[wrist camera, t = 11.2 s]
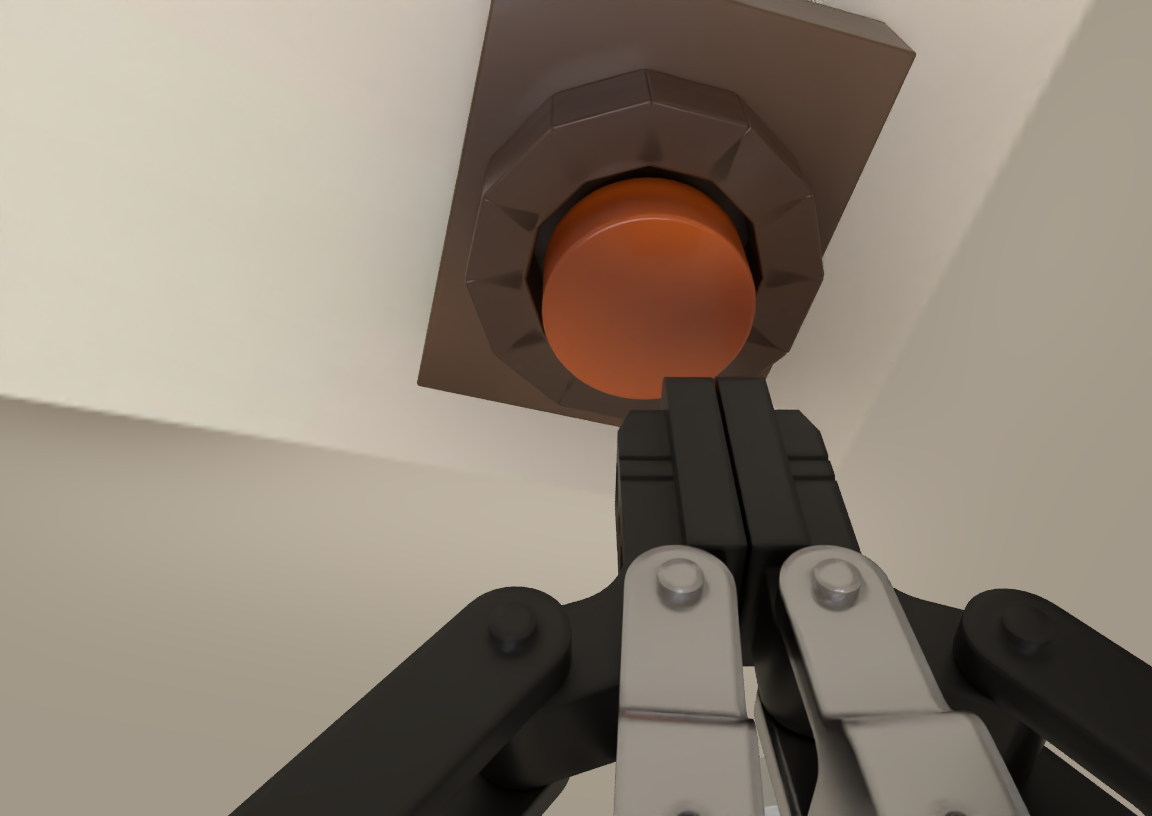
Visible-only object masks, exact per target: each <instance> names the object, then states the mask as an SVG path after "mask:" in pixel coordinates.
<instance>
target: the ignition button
mask: <svg viewBox="0 0 1152 816" xmlns="http://www.w3.org/2000/svg"><path fill="white" fill-rule="evenodd" d="M755 312H756V291H755V284H754V281H753V277H752V273H751V270H750V267H749V264H748V261H747V258H746V255H745V252H744V249H743V246H742V243H741V240H740V237H739V234H738V232H737V230H736V228H735V225H734V224H733V222H732V221H731V219H730V217H729V216H728V215H727V213H726V212H725V211H724V210H723V209H722V207H721V206H720V205H719V204H717V203H716V202H715V201H714V200H713V199H712V198H711V197H709V196H708V195H706V194H704V193H703V192H701V191H700V190H698V189H696V188H694V187H691V186H689V185H687V184H684V183H681V182H678V181H674V180H669V179H663V178H650V177H645V178H632V179H627V180H622V181H618V182H615V183H612V184H609V185H606V186H604V187H602V188H600V189H598V190H596V191H594V192H592V193H590V194H589V195H587V196H586V197H584V198H583V199H581V200H580V201H579V202H578V203H577V204H575V205H574V206H573V207H572V208H571V209H570V210H569V211H568V212H567V213H566V214H565V215H564V217H563V218H562V219H561V221H560V222H559V224H558V225H557V226H556V228H555V230H554V232H553V234H552V236H551V238H550V241H549V244H548V246H547V249H546V254H545V259H544V275H543V297H542V319H543V326H544V330H545V334H546V337H547V340H548V342H549V344H550V346H551V348H552V350H553V352H554V353H555V355H556V356H557V358H558V359H559V360H560V362H561V363H562V364H563V365H564V366H565V368H566V369H568V370H569V371H570V372H571V373H572V374H573V375H574V376H575V377H577V378H578V379H579V380H581V381H582V382H584V383H585V384H587V385H589V386H591V387H593V388H595V389H597V390H599V391H602V392H604V393H607V394H610V395H614V396H618V397H623V398H630V399H659V398H661V393H662V382H663V378H664V377H712V378H714V377H715V376H717V375H718V374H719V373H720V372H721V371H723V370H724V369H725V368H726V367H727V366H728V365H729V364H730V363H731V362H732V361H733V360H734V358H735V357H736V356H737V355H738V353H739V352H740V350H741V349H742V347H743V346H744V344H745V342H746V340H747V338H748V336H749V334H750V331H751V328H752V325H753V322H754V317H755Z"/></svg>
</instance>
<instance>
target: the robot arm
mask: <svg viewBox="0 0 1152 816" xmlns="http://www.w3.org/2000/svg"><path fill="white" fill-rule="evenodd" d="M615 516H616V532H617V535H616V536H617V551H618V576H617V577H616V579H615V580H614V581H613V582H612V583H611V584H610V585H609V586H608V587H607V588H605V589H604V590H602V591H601V592H600V593H597V594H595V595H594V596H591V597H589V598H586V599H583V600H580V601H577V602H572V603H569V604H566V605H561V604H560V603H559V602H558V601H557V600H556V599H554V598H553V597H551V596H550V595H548V594H546V593H544V592H542V591H539V590H536V589H533V588H527V587H504V588H499V589H495V590H492V591H490V592H487V593H485V594H483V595H481V596H479V597H477V598H476V599H475V600H474V601H472V602H471V603H469V604H468V605H467V606H466V607H465V608H464V609H463V610H461V611H460V612H459V613H458V614H457V615H456V616H455V617H454V618H453V619H451V620H450V621H449V622H448V623H447V624H446V625H444V626H443V627H442V628H441V629H440V630H439V631H438V632H436V633H435V634H434V635H433V636H432V637H431V638H430V639H429V640H427V641H426V642H425V643H424V644H423V645H422V646H421V647H419V648H418V649H417V650H416V651H415V652H414V653H413V654H411V655H410V656H409V657H408V658H407V659H406V660H405V661H403V662H402V663H401V664H400V665H399V666H398V667H397V668H396V669H394V670H393V671H392V672H391V673H390V674H389V675H388V676H387V677H385V678H384V679H383V680H382V681H381V682H380V683H378V684H377V685H376V686H375V687H374V688H373V689H372V690H371V691H370V692H368V693H367V694H366V695H365V696H364V697H363V698H361V699H360V700H359V701H358V702H357V703H356V704H355V705H353V706H352V707H351V708H350V709H349V710H348V711H347V712H345V713H344V714H343V715H342V716H341V717H340V718H339V719H338V720H336V721H335V722H334V723H333V724H332V725H331V726H330V727H328V728H327V729H326V730H325V731H324V732H323V733H322V734H321V735H319V736H318V737H317V738H316V739H315V740H314V741H313V742H312V743H310V744H309V745H308V746H307V747H306V748H305V749H303V750H302V751H301V752H300V753H299V754H298V755H297V756H295V757H294V758H293V759H292V760H291V761H290V762H289V763H288V764H286V765H285V766H284V767H283V768H282V769H281V770H280V771H278V772H277V773H276V774H275V775H274V776H273V777H272V778H270V779H269V780H268V781H267V782H266V783H265V784H264V785H263V786H261V787H260V788H259V789H258V790H257V791H256V792H255V793H253V794H252V795H251V796H250V797H249V798H248V799H247V800H245V801H244V802H243V803H242V804H241V805H240V806H239V807H237V808H236V809H235V810H234V811H233V812H232V813H231V814H229V815H228V816H542V814H543V813H544V812H545V811H546V810H547V809H548V807H549V806H550V805H551V804H552V803H553V801H554V800H555V799H556V798H557V797H558V796H559V794H560V793H561V792H562V790H563V789H564V788H565V786H566V784H567V782H568V780H569V777H571V776H574V775H577V774H579V773H583V772H586V771H589V770H592V769H595V768H598V767H601V766H604V765H607V764H610V763H613V762H616V774H615V798H614V816H765V810H764V800H763V789H762V778H761V767H760V756H759V746H758V736H757V730H758V734H759V737H760V741H761V745H762V749H763V753H764V756H765V760H766V764H767V768H768V772H769V775H770V779H771V783H772V787H773V791H774V794H775V798H776V802H777V806H778V810H779V813H780V816H1137V815H1136V814H1134V813H1133V812H1132V811H1130V810H1129V809H1128V808H1127V807H1125V806H1124V805H1123V804H1121V803H1120V802H1119V801H1117V800H1116V799H1115V798H1113V797H1112V796H1111V795H1109V794H1108V793H1106V792H1105V791H1104V790H1102V789H1101V788H1100V787H1099V786H1097V785H1096V784H1095V783H1093V782H1092V781H1091V780H1089V779H1088V778H1087V777H1085V776H1084V775H1083V774H1081V773H1080V772H1079V771H1077V770H1076V769H1075V768H1073V767H1072V766H1071V765H1069V764H1068V763H1067V762H1065V761H1064V760H1063V759H1061V758H1060V757H1059V756H1057V755H1056V754H1055V753H1053V752H1052V751H1051V750H1049V749H1048V748H1047V747H1045V746H1044V744H1045V742H1046V740H1047V741H1048V742H1050V743H1051V744H1052V745H1054V746H1055V747H1056V748H1058V749H1059V750H1060V751H1062V752H1063V753H1064V754H1066V755H1067V756H1068V757H1070V758H1071V759H1073V760H1074V761H1075V762H1077V763H1078V764H1079V765H1080V766H1082V767H1083V768H1084V769H1086V770H1087V771H1089V772H1090V773H1091V774H1093V775H1094V776H1095V777H1097V778H1098V779H1099V780H1101V781H1102V782H1103V783H1105V784H1106V785H1107V786H1109V787H1110V788H1111V789H1113V790H1114V791H1115V792H1117V793H1118V794H1119V795H1121V796H1122V797H1123V798H1125V799H1126V800H1127V801H1129V802H1130V803H1131V804H1133V805H1134V806H1135V807H1136V808H1138V809H1139V810H1140V811H1141V812H1142V813H1143V814H1144V815H1145V816H1152V667H1151V666H1150V665H1148V664H1147V663H1145V662H1144V661H1142V660H1141V659H1139V658H1137V657H1136V656H1134V655H1133V654H1131V653H1130V652H1128V651H1127V650H1125V649H1124V648H1122V647H1120V646H1119V645H1117V644H1116V643H1114V642H1113V641H1111V640H1109V639H1108V638H1106V637H1105V636H1103V635H1102V634H1100V633H1099V632H1097V631H1096V630H1094V629H1092V628H1091V627H1089V626H1088V625H1086V624H1085V623H1083V622H1082V621H1080V620H1079V619H1077V618H1075V617H1074V616H1072V615H1071V614H1069V613H1068V612H1066V611H1065V610H1063V609H1062V608H1060V607H1058V606H1057V605H1055V604H1053V603H1052V602H1050V601H1048V600H1046V599H1044V598H1042V597H1040V596H1037V595H1035V594H1031V593H1028V592H1025V591H1021V590H1016V589H993V590H987V591H985V592H982V593H979V594H978V595H976V596H975V597H973V598H972V599H971V600H970V601H969V602H968V604H967V606H966V607H965V610H961V609H957V608H953V607H949V606H945V605H941V604H937V603H933V602H929V601H926V600H921V599H919V598H915V597H912V596H909V595H907V594H905V593H903V592H901V591H899V590H897V589H895V588H893V587H892V585H891V582H890V581H889V579H888V577H887V575H886V574H885V573H884V572H883V570H882V569H881V568H880V567H879V566H878V565H877V564H876V563H874V562H873V561H872V560H870V559H869V558H867V557H866V556H864V555H862V554H861V552H860V548H859V545H858V542H857V539H856V536H855V534H854V530H853V527H852V525H851V522H850V519H849V516H848V513H847V510H846V507H845V504H844V501H843V498H842V495H841V492H840V490H839V486H838V483H837V481H835V474H834V471H833V468H832V465H831V462H830V461H828V453H827V450H826V448H825V445H824V442H823V439H822V436H821V433H820V431H819V430H818V429H817V428H816V427H815V426H814V425H813V424H812V423H811V422H810V421H809V420H808V419H807V418H806V417H805V416H804V415H803V414H802V412H801V411H800V410H774V408H773V405H772V401H771V398H770V394H769V391H768V387H767V383H766V380H765V378H764V377H714V379H713V378H712V377H664V378H663V382H662V393H661V407H660V410H630V411H629V413H628V415H627V416H626V418H625V420H624V421H623V423H622V425H621V427H620V428H619V430H618V435H617V463H616V491H615ZM743 666H754V667H755V672H756V678H757V683H758V690H757V696H756V701H755V706H754V717H755V722H756V726H757V730H756V726H755V722H754V720H753V719H749V718H748V717H747V712H746V703H745V690H744V678H743Z"/></svg>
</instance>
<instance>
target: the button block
mask: <svg viewBox="0 0 1152 816" xmlns="http://www.w3.org/2000/svg"><path fill="white" fill-rule="evenodd" d="M915 57H916V53H915V52H914V51H913V50H912V49H911V48H910V47H909V46H908V45H907V44H906V43H905V42H904V41H903V40H902V39H901V38H900V37H899V36H898V35H897V34H896V33H895V32H894V31H893V30H892V29H890V28H889V27H888V26H887V25H886V24H885V23H883V22H880V21H876V20H873V19H869V18H866V17H863V16H859V15H856V14H852V13H849V12H845V11H842V10H838V9H835V8H831V7H828V6H824V5H821V4H817V3H814V2H810V1H807V0H491V6H490V11H489V16H488V21H487V26H486V31H485V36H484V41H483V47H482V52H481V57H480V62H479V67H478V72H477V77H476V83H475V88H474V93H473V98H472V103H471V108H470V113H469V118H468V124H467V129H466V134H465V139H464V144H463V149H462V154H461V159H460V165H459V170H458V175H457V180H456V185H455V190H454V195H453V201H452V206H451V211H450V216H449V221H448V226H447V231H446V236H445V242H444V247H443V252H442V257H441V262H440V267H439V272H438V278H437V283H436V288H435V293H434V298H433V303H432V308H431V313H430V319H429V324H428V329H427V334H426V339H425V344H424V349H423V354H422V360H421V365H420V370H419V375H418V380H417V384H418V385H419V386H422V387H427V388H432V389H437V390H442V391H447V392H452V393H456V394H461V395H466V396H471V397H476V398H481V399H486V400H491V401H496V402H501V403H505V404H510V405H515V406H520V407H525V408H530V409H535V410H540V411H545V412H549V413H554V414H559V415H564V416H569V417H574V418H579V419H584V420H589V421H593V422H598V423H603V424H608V425H613V426H618V427H621V425H622V423H623V421H624V420H625V418H626V416H627V415H628V413H629V411H630V410H660V407H661V398H659V399H630V398H623V397H618V396H614V395H610V394H607V393H604V392H602V391H599V390H597V389H595V388H593V387H591V386H589V385H587V384H585V383H584V382H582V381H581V380H579V379H578V378H577V377H575V376H574V375H573V374H572V373H571V372H570V371H569V370H568V369H566V368H565V366H564V365H563V364H562V363H561V362H560V360H559V359H558V358H557V356H556V355H555V353H554V352H553V350H552V348H551V346H550V344H549V342H548V340H547V337H546V334H545V330H544V326H543V319H542V297H543V275H544V259H545V254H546V249H547V246H548V244H549V241H550V238H551V236H552V234H553V232H554V230H555V228H556V226H557V225H558V224H559V222H560V221H561V219H562V218H563V217H564V215H565V214H566V213H567V212H568V211H569V210H570V209H571V208H572V207H573V206H574V205H575V204H577V203H578V202H579V201H580V200H581V199H583V198H584V197H586V196H587V195H589V194H590V193H592V192H594V191H596V190H598V189H600V188H602V187H604V186H606V185H609V184H612V183H615V182H618V181H622V180H627V179H632V178H645V177H650V178H663V179H669V180H674V181H678V182H681V183H684V184H687V185H689V186H691V187H694V188H696V189H698V190H700V191H701V192H703V193H704V194H706V195H708V196H709V197H711V198H712V199H713V200H714V201H715V202H716V203H717V204H719V205H720V206H721V207H722V209H723V210H724V211H725V212H726V213H727V215H728V216H729V217H730V219H731V221H732V222H733V224H734V225H735V228H736V230H737V232H738V234H739V237H740V240H741V243H742V246H743V249H744V252H745V255H746V258H747V261H748V264H749V267H750V270H751V273H752V277H753V281H754V284H755V291H756V312H755V317H754V322H753V325H752V328H751V331H750V334H749V336H748V338H747V340H746V342H745V344H744V346H743V347H742V349H741V350H740V352H739V353H738V355H737V356H736V357H735V358H734V360H733V361H732V362H731V363H730V364H729V365H728V366H727V367H726V368H725V369H724V370H723V371H721V372H720V373H719V374H718V375H717V376H715V377H764V378H765V380H766V378H767V376H768V374H769V371H770V369H771V367H772V365H773V364H774V363H775V362H777V361H778V360H779V359H781V358H782V357H783V356H785V354H786V353H787V352H789V351H790V349H791V347H792V345H793V342H794V340H795V338H796V336H797V334H798V332H799V330H800V328H801V325H802V323H803V321H804V319H805V317H806V315H807V313H808V311H809V309H810V306H811V304H812V302H813V300H814V298H815V296H816V294H817V292H818V289H819V287H820V285H821V283H822V281H823V277H824V269H823V262H822V257H823V255H824V253H825V251H826V249H827V246H828V244H829V242H830V240H831V238H832V236H833V233H834V231H835V229H836V227H837V225H838V223H839V221H840V218H841V216H842V214H843V212H844V210H845V208H846V205H847V203H848V201H849V199H850V197H851V195H852V193H853V190H854V188H855V186H856V184H857V182H858V180H859V177H860V175H861V173H862V171H863V169H864V167H865V164H866V162H867V160H868V158H869V156H870V154H871V152H872V149H873V147H874V145H875V143H876V141H877V139H878V136H879V134H880V132H881V130H882V128H883V126H884V124H885V121H886V119H887V117H888V115H889V113H890V111H891V108H892V106H893V104H894V102H895V100H896V98H897V95H898V93H899V91H900V89H901V87H902V85H903V83H904V80H905V78H906V76H907V74H908V72H909V70H910V67H911V65H912V63H913V61H914V59H915ZM713 379H714V378H713Z"/></svg>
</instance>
